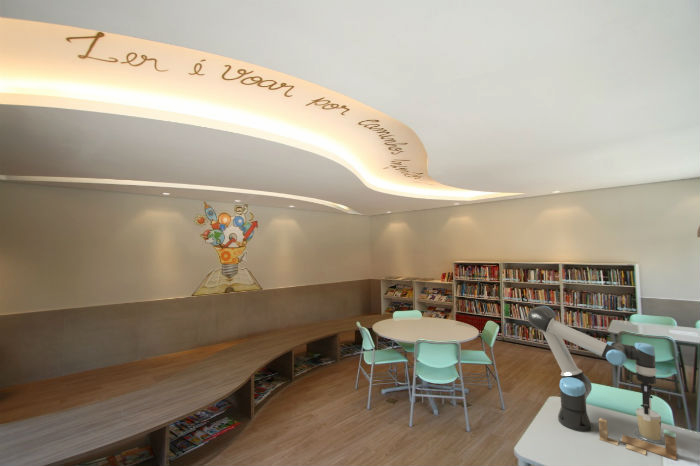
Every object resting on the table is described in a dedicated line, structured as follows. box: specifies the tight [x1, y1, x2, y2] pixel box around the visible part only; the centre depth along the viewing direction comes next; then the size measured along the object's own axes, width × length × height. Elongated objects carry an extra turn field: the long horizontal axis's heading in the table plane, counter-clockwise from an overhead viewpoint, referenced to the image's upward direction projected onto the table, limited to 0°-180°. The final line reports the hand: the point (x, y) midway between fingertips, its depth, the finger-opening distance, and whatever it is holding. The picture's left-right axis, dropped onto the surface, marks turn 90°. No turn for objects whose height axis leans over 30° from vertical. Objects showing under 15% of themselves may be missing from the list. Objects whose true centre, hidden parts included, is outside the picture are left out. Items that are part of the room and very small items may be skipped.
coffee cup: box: [635, 407, 662, 441], centre depth 157 cm, size 9×9×12 cm
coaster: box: [634, 428, 665, 445], centre depth 157 cm, size 12×12×1 cm
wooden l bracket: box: [620, 428, 678, 461], centre depth 148 cm, size 19×8×10 cm, turn 44°
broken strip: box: [598, 417, 647, 456], centre depth 150 cm, size 17×4×10 cm, turn 44°
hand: (647, 415), depth 158 cm, fingers open, 13 cm apart
